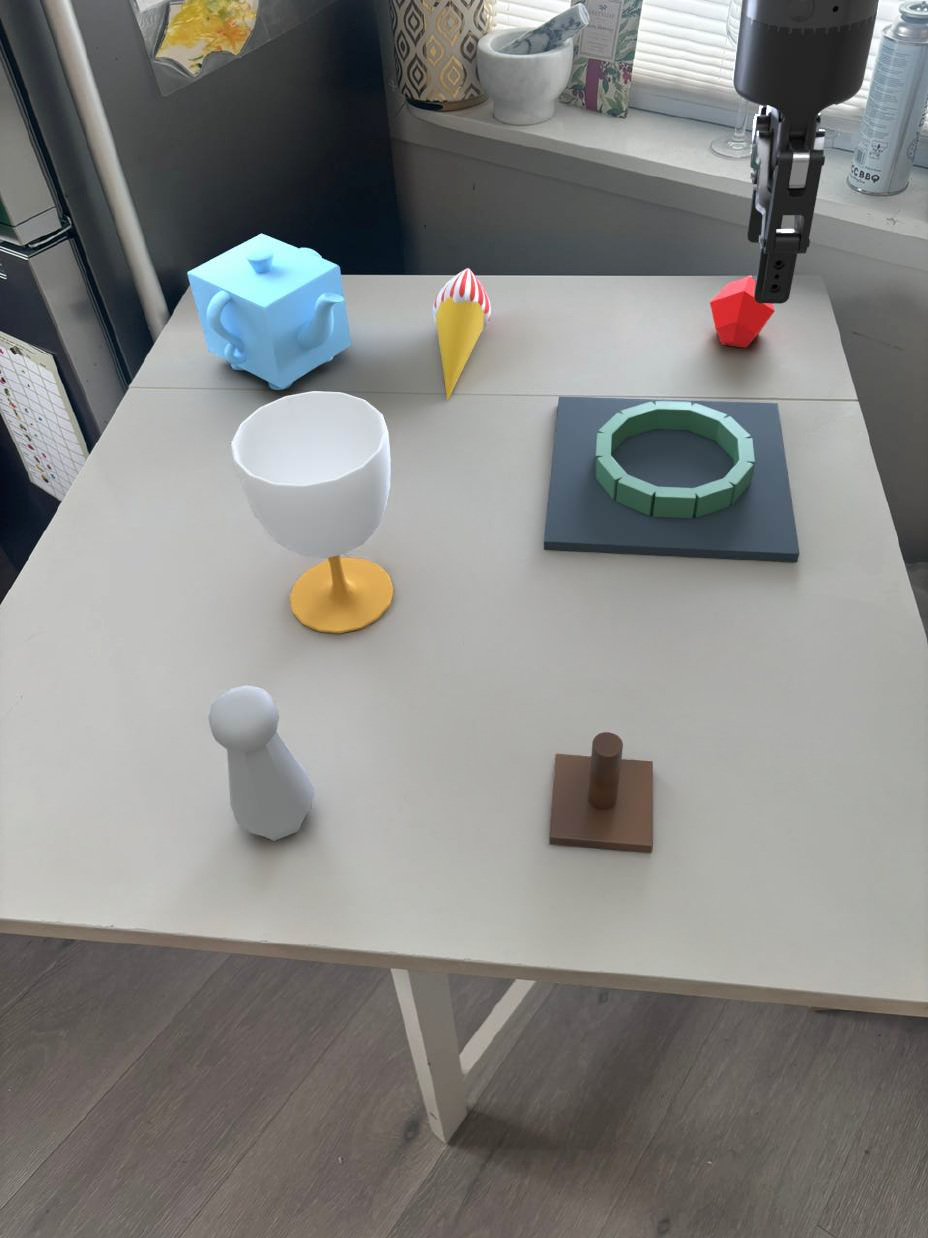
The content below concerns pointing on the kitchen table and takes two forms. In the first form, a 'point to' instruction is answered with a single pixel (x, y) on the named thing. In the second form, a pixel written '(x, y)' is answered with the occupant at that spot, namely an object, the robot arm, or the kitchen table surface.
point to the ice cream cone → (459, 322)
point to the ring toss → (603, 799)
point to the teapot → (271, 309)
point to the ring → (670, 498)
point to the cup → (321, 499)
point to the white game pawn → (260, 764)
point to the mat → (669, 460)
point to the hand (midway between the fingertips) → (766, 269)
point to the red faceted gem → (739, 313)
